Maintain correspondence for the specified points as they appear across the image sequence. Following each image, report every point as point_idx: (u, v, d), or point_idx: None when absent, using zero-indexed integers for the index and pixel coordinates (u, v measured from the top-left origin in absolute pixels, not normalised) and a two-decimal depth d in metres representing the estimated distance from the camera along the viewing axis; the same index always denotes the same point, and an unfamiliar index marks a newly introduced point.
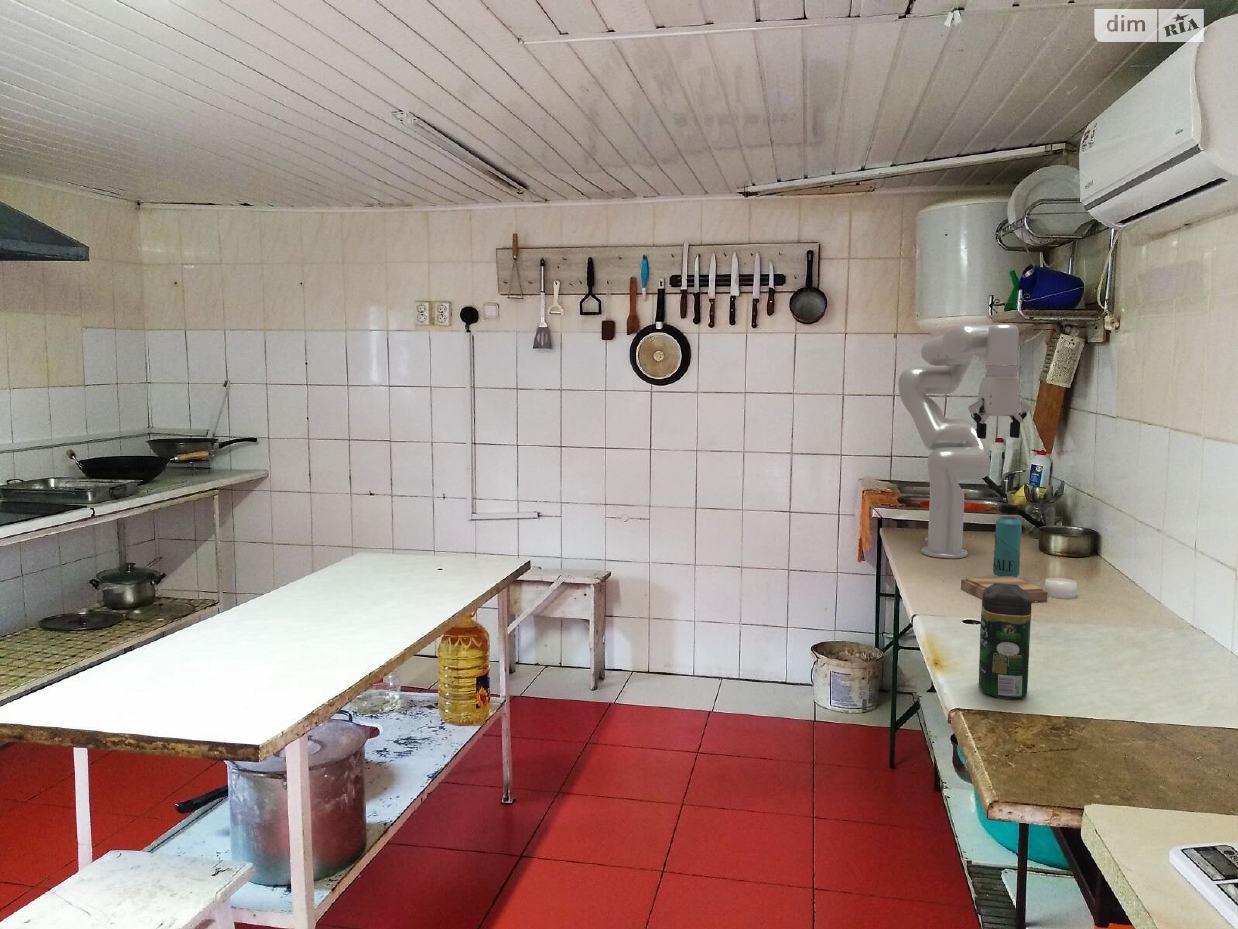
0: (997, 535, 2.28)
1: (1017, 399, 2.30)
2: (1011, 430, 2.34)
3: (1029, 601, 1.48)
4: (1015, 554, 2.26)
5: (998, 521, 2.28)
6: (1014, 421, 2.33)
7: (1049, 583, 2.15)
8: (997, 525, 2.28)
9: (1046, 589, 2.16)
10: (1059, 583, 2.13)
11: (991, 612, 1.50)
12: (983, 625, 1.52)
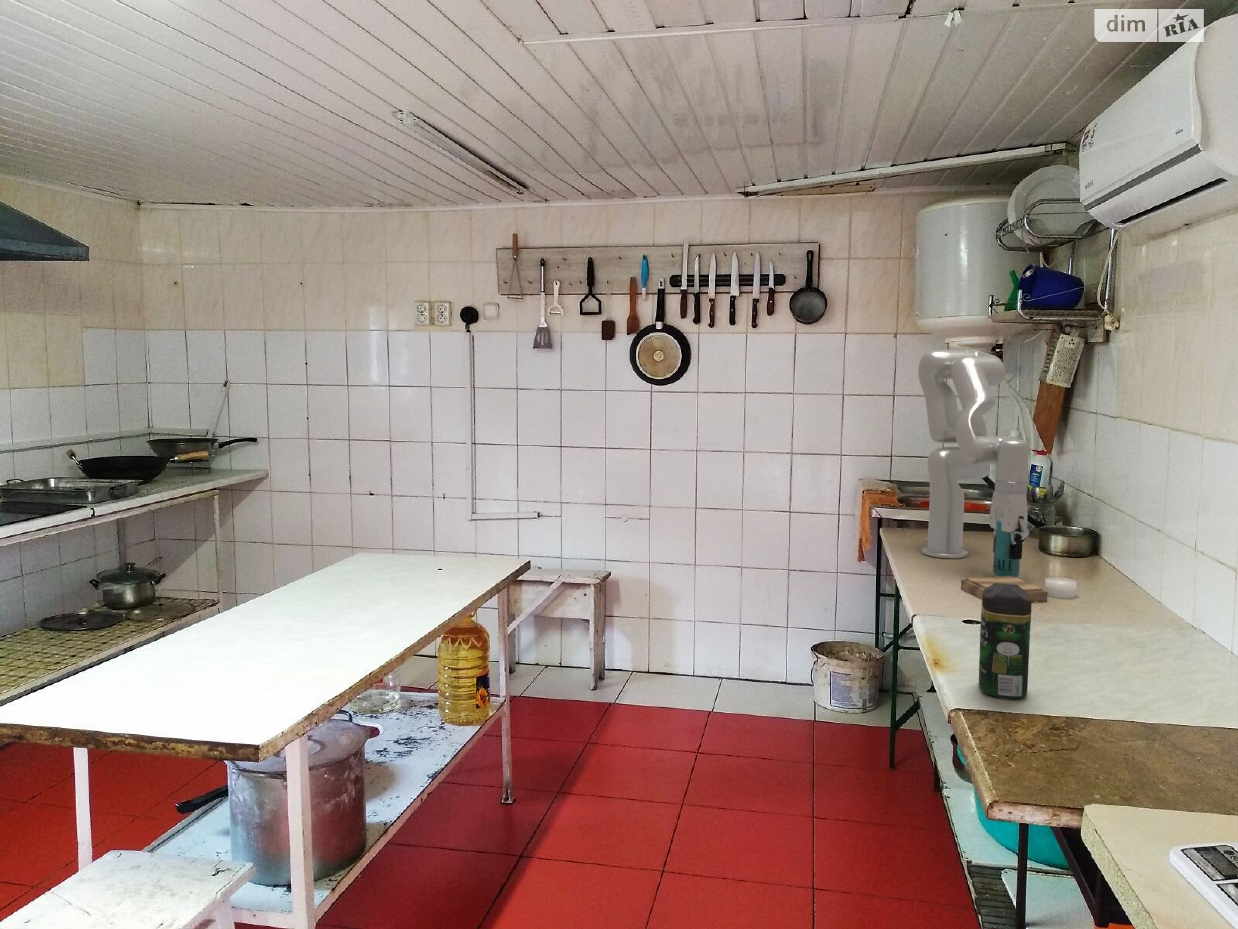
0: (997, 535, 2.28)
1: None
2: None
3: (1029, 601, 1.48)
4: None
5: (998, 521, 2.28)
6: None
7: (1049, 583, 2.15)
8: (997, 525, 2.28)
9: (1046, 589, 2.16)
10: (1059, 583, 2.13)
11: (991, 612, 1.50)
12: (983, 625, 1.52)
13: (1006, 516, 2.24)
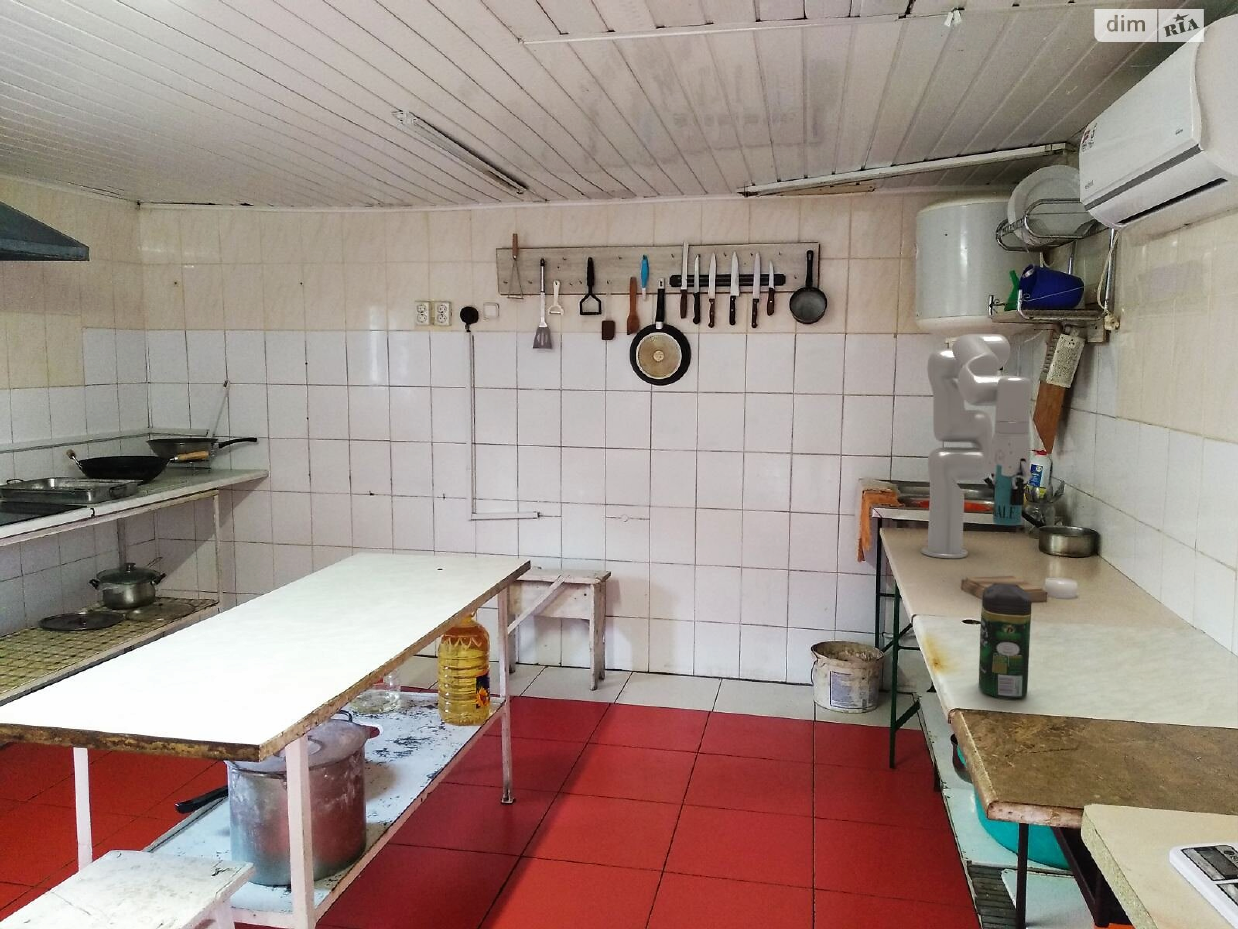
0: (997, 480, 2.13)
1: None
2: None
3: (1029, 601, 1.48)
4: None
5: (998, 465, 2.12)
6: None
7: (1048, 582, 2.15)
8: (997, 469, 2.13)
9: (1046, 588, 2.16)
10: (1058, 582, 2.14)
11: (991, 612, 1.50)
12: (983, 625, 1.52)
13: (1007, 459, 2.09)
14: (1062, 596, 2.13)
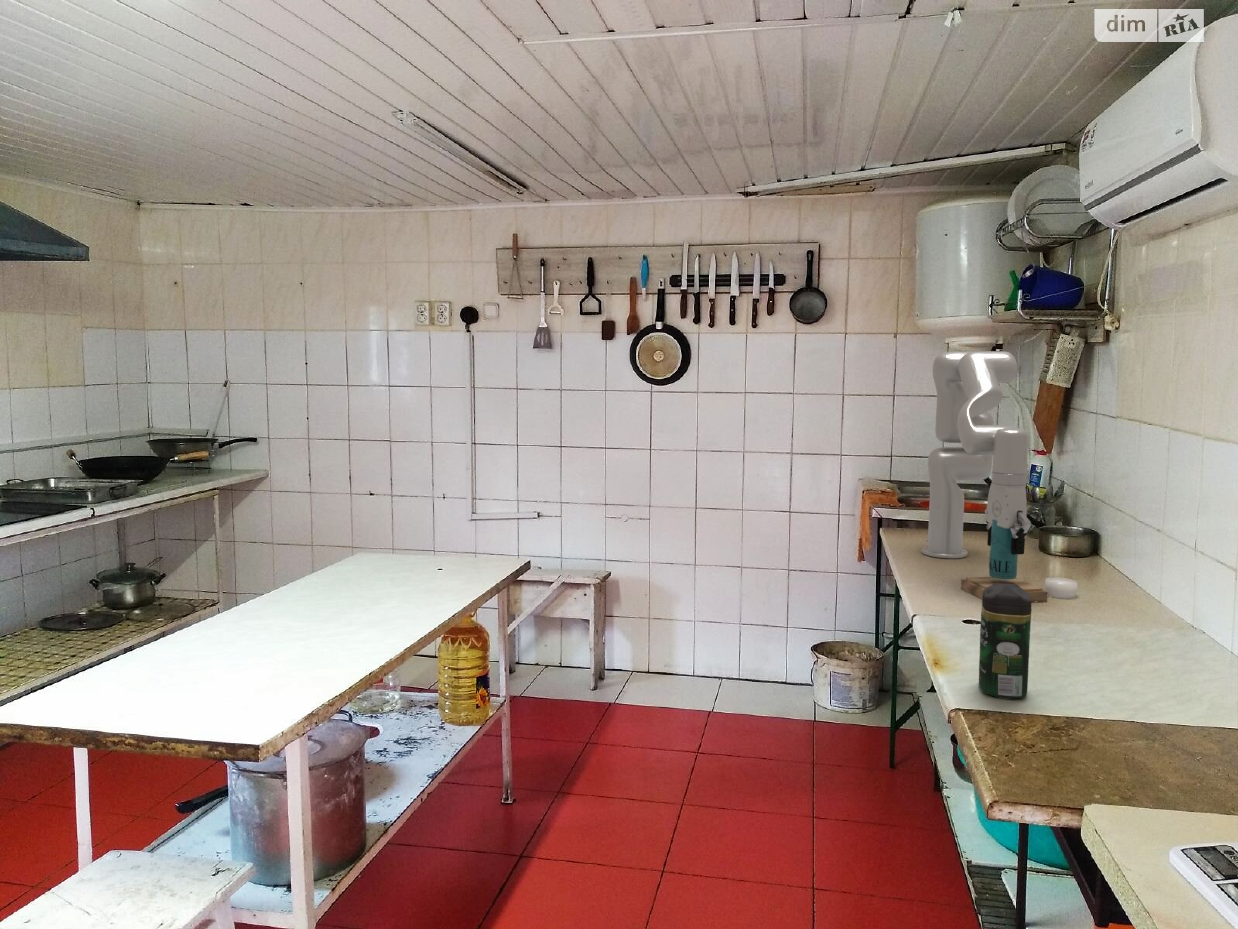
0: (993, 534, 2.14)
1: None
2: None
3: (1029, 601, 1.48)
4: (1012, 555, 2.12)
5: None
6: None
7: (1048, 582, 2.15)
8: (993, 523, 2.14)
9: (1045, 588, 2.16)
10: (1057, 583, 2.14)
11: (991, 612, 1.50)
12: (983, 625, 1.52)
13: (1004, 510, 2.10)
14: (1061, 596, 2.13)
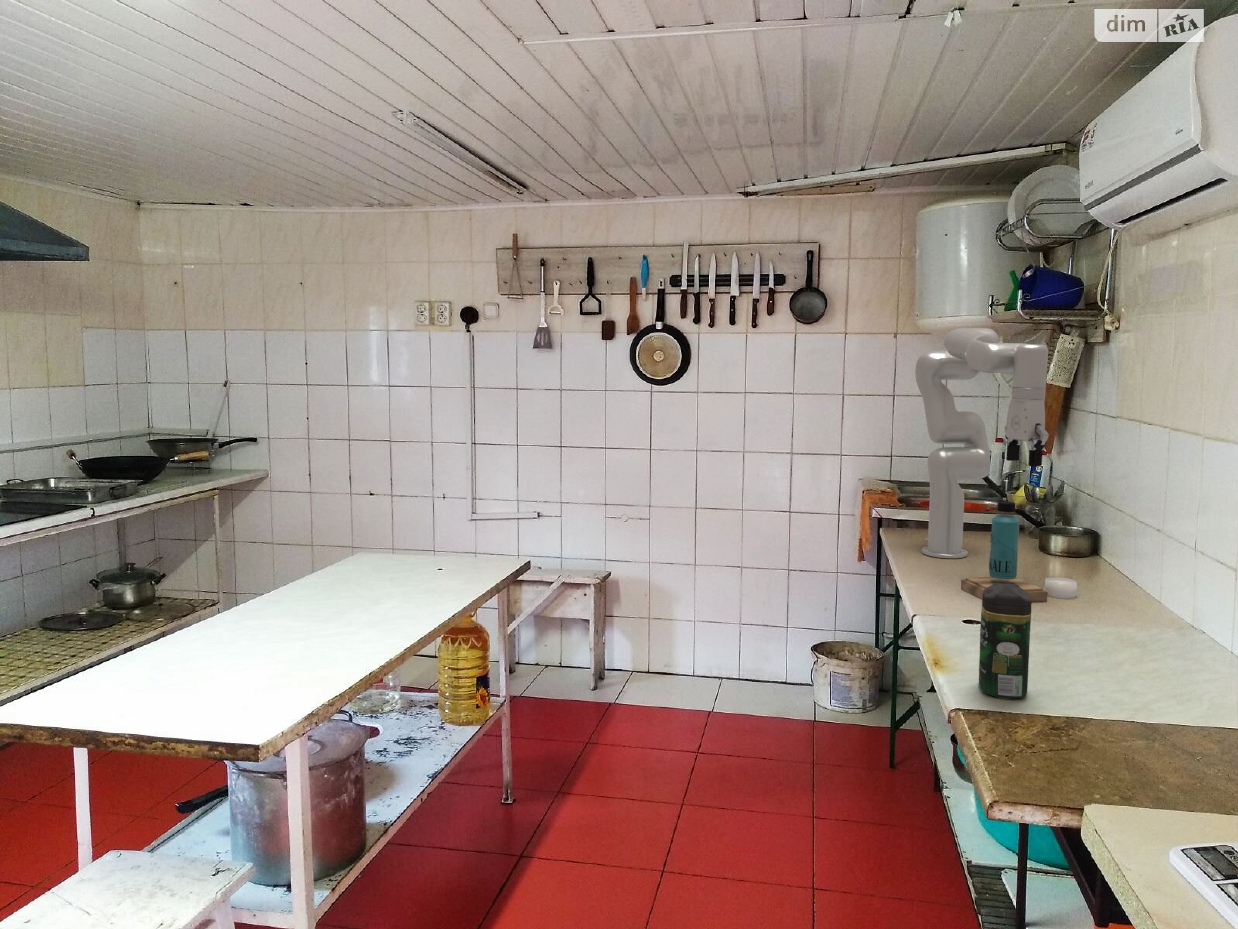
0: (993, 534, 2.14)
1: None
2: (1011, 453, 2.25)
3: (1029, 601, 1.48)
4: (1012, 555, 2.12)
5: (994, 519, 2.14)
6: (1014, 444, 2.25)
7: (1047, 582, 2.15)
8: (993, 523, 2.14)
9: (1045, 588, 2.17)
10: (1056, 583, 2.14)
11: (991, 612, 1.50)
12: (983, 625, 1.52)
13: (1022, 424, 2.16)
14: (1060, 596, 2.13)
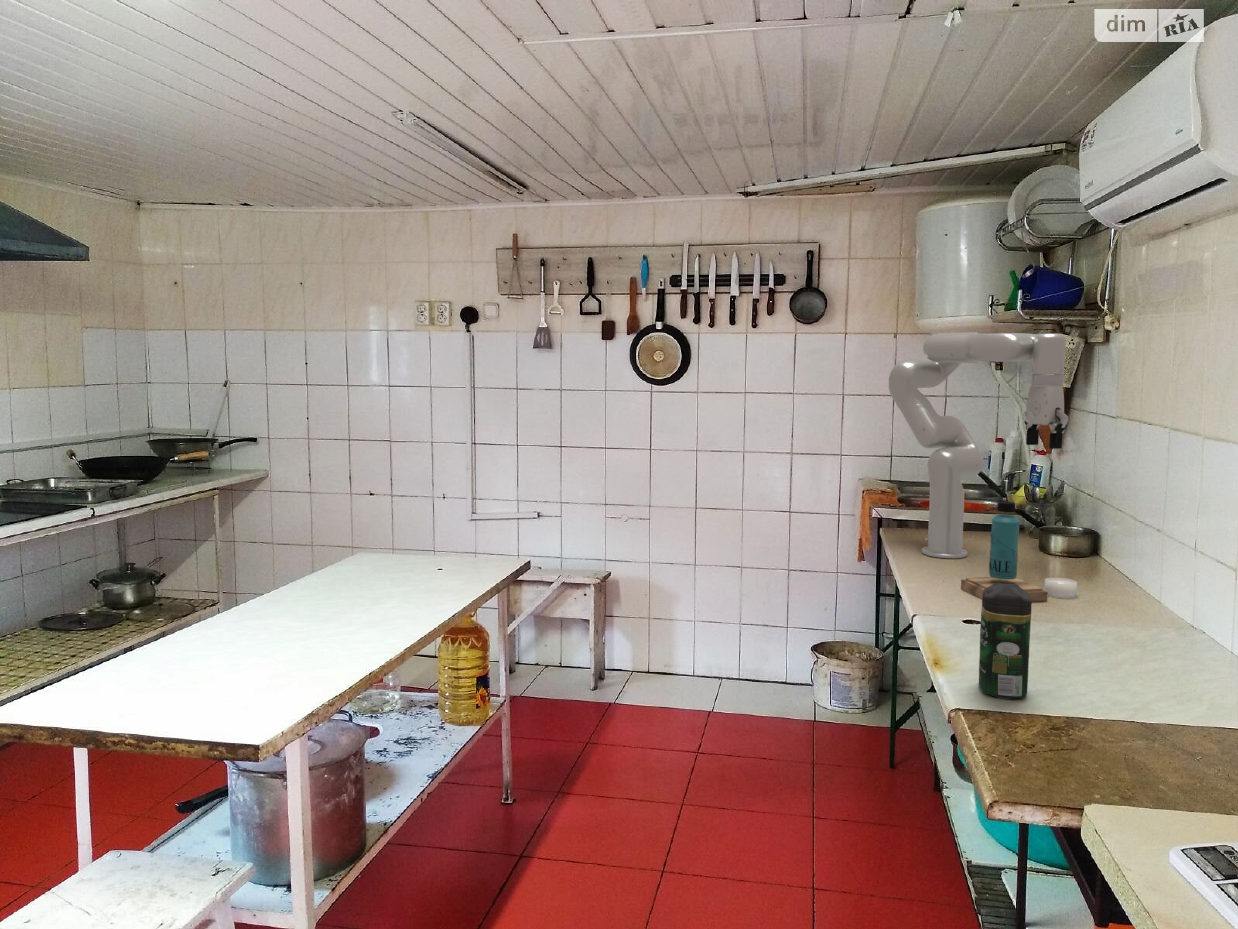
0: (993, 534, 2.14)
1: None
2: (1030, 438, 2.37)
3: (1029, 601, 1.48)
4: (1012, 555, 2.12)
5: (994, 519, 2.14)
6: (1033, 429, 2.37)
7: (1046, 582, 2.16)
8: (993, 523, 2.14)
9: (1045, 588, 2.17)
10: (1056, 582, 2.14)
11: (991, 612, 1.50)
12: (983, 625, 1.52)
13: (1043, 408, 2.28)
14: (1059, 596, 2.13)
